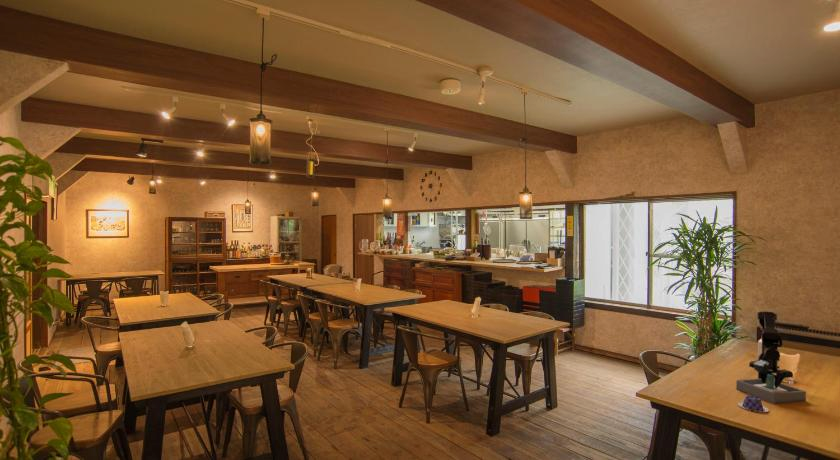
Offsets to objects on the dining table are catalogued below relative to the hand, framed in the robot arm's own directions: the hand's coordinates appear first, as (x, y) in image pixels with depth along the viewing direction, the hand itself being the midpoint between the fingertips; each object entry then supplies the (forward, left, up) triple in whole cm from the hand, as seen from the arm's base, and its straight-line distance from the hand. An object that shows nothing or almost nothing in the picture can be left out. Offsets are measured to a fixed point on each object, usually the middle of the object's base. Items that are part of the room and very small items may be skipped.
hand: (770, 385), depth 226 cm
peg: (0, 0, -4) cm, 4 cm away
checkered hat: (+25, +12, -6) cm, 28 cm away
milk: (-33, -29, -5) cm, 44 cm away
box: (0, 0, -5) cm, 5 cm away
